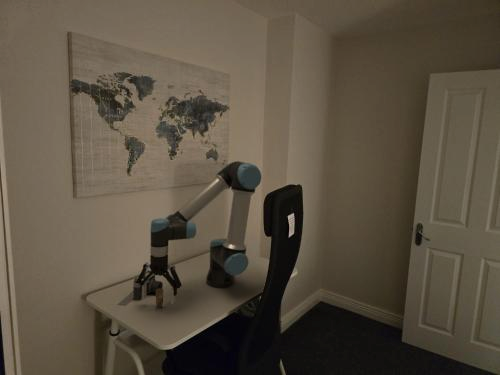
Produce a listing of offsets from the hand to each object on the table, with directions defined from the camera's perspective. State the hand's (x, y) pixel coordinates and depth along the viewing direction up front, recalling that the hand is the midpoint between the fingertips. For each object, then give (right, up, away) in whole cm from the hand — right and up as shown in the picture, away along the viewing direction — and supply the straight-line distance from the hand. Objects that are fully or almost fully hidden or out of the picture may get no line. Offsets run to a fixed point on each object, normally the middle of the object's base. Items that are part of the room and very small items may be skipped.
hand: (158, 300), depth 146 cm
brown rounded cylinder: (0, -3, +1) cm, 3 cm away
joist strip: (-16, -1, +10) cm, 18 cm away
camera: (-8, -1, +13) cm, 15 cm away
